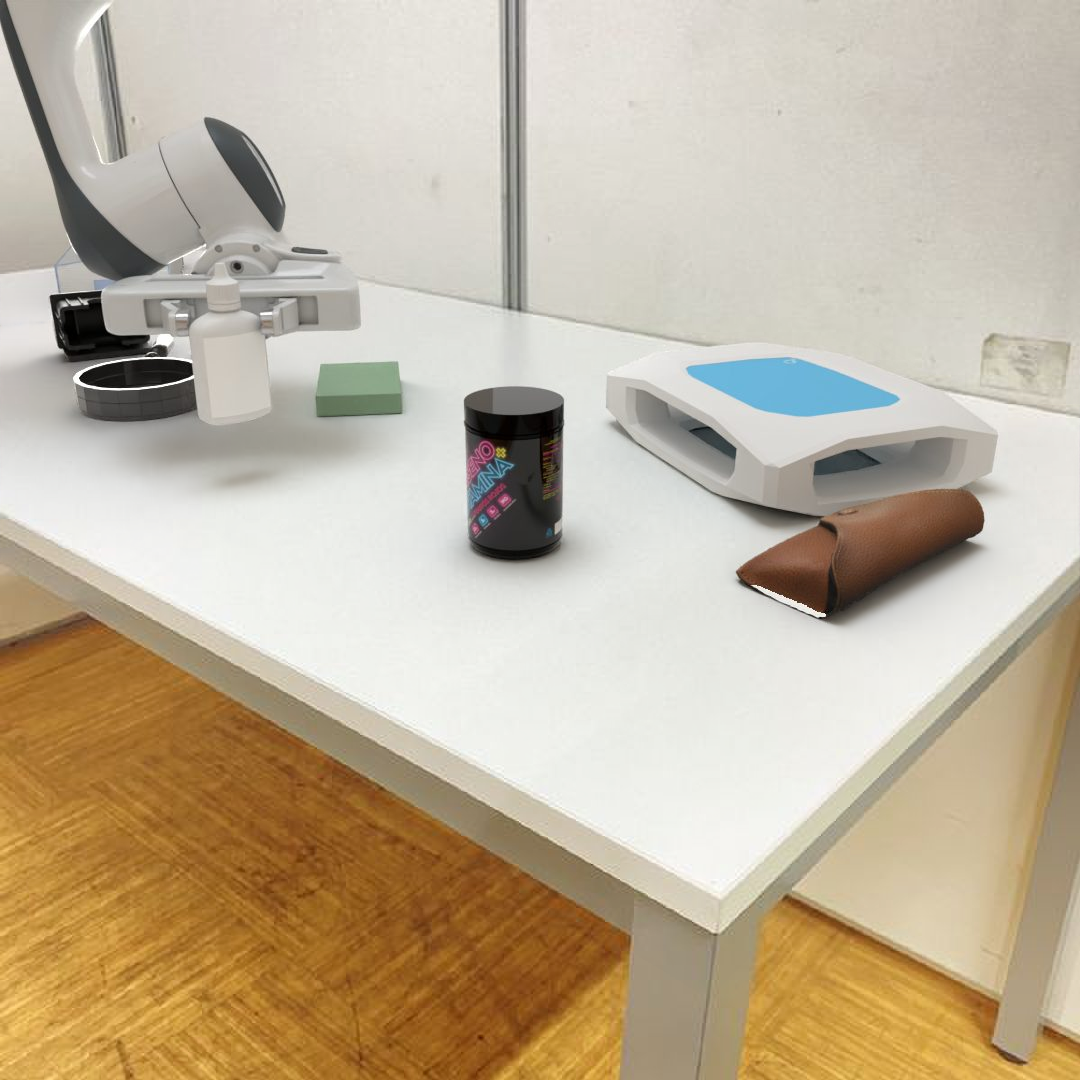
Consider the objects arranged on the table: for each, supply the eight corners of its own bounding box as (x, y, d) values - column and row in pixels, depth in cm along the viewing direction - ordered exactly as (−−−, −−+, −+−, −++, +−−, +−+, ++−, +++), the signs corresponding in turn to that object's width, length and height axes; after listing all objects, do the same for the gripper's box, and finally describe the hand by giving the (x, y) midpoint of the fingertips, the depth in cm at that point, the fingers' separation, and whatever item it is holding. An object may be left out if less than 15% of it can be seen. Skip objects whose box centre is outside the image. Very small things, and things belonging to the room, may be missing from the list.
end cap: (146, 339, 135) (137, 282, 132) (156, 352, 129) (148, 293, 126) (56, 348, 130) (46, 290, 128) (63, 362, 125) (52, 301, 122)
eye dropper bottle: (272, 423, 88) (258, 267, 83) (197, 427, 87) (178, 269, 82) (272, 407, 92) (259, 257, 87) (200, 411, 91) (183, 259, 86)
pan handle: (143, 371, 116) (141, 354, 115) (159, 348, 124) (157, 332, 124) (161, 371, 116) (159, 354, 115) (176, 348, 125) (174, 332, 124)
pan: (65, 423, 104) (59, 392, 103) (93, 388, 115) (89, 359, 114) (198, 418, 106) (194, 387, 105) (214, 383, 117) (211, 355, 116)
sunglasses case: (876, 504, 85) (928, 442, 80) (943, 572, 82) (1001, 512, 78) (725, 574, 73) (776, 507, 69) (798, 656, 71) (856, 592, 66)
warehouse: (88, 269, 177) (80, 219, 174) (184, 265, 180) (178, 216, 177) (61, 308, 150) (51, 250, 147) (173, 303, 154) (166, 246, 150)
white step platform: (766, 529, 82) (773, 447, 79) (601, 421, 105) (603, 355, 103) (995, 490, 89) (1008, 413, 86) (792, 397, 113) (798, 335, 110)
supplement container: (474, 522, 83) (471, 384, 79) (566, 526, 82) (568, 387, 78) (460, 560, 77) (455, 413, 72) (559, 565, 76) (560, 416, 72)
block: (317, 416, 107) (315, 396, 106) (321, 382, 117) (320, 363, 117) (402, 413, 108) (401, 393, 107) (399, 379, 118) (398, 361, 118)
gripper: (114, 254, 95) (75, 285, 83) (358, 250, 98) (357, 281, 85) (124, 328, 98) (88, 369, 85) (362, 323, 101) (362, 362, 88)
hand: (225, 325), depth 85 cm, fingers closed on eye dropper bottle, 5 cm apart
